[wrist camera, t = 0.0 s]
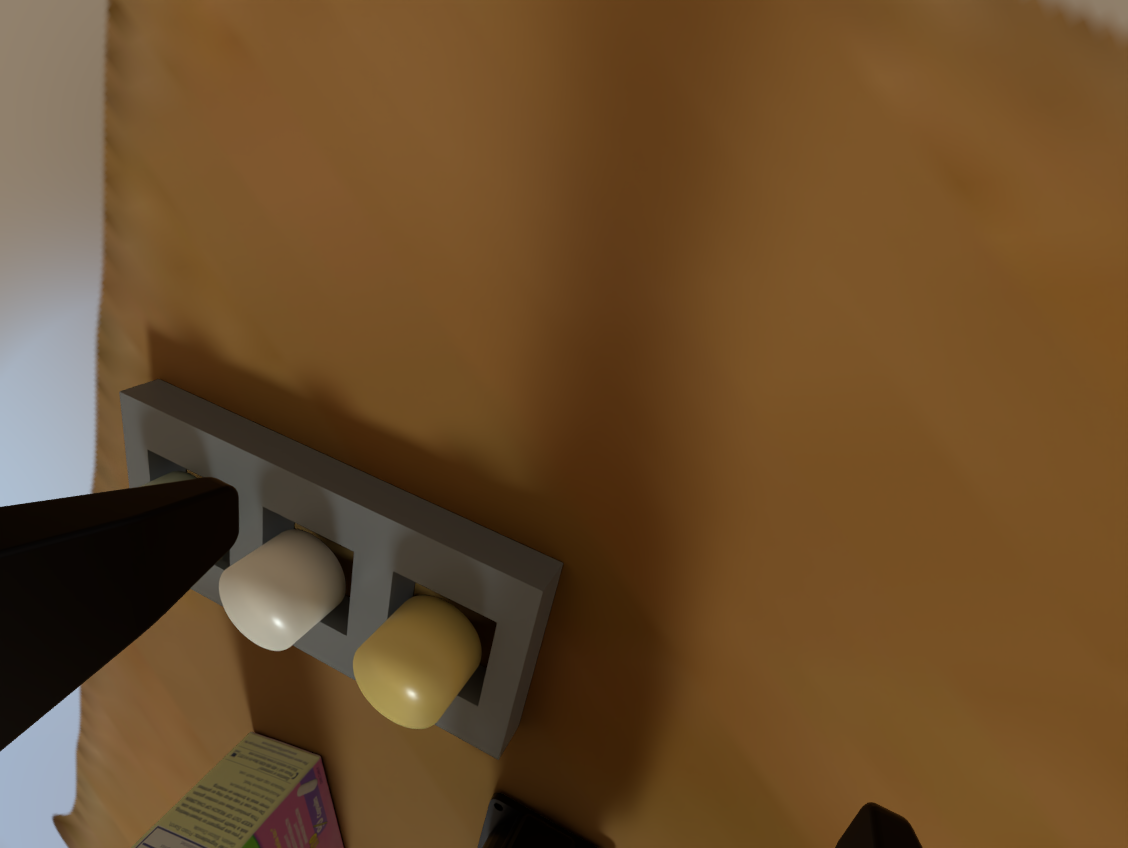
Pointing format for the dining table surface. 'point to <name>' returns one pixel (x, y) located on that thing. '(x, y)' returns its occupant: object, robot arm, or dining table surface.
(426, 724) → the mustard button
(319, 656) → the button panel
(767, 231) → the dining table surface
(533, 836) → the robot arm
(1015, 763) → the dining table surface
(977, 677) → the dining table surface
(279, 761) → the box
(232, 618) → the cream button
